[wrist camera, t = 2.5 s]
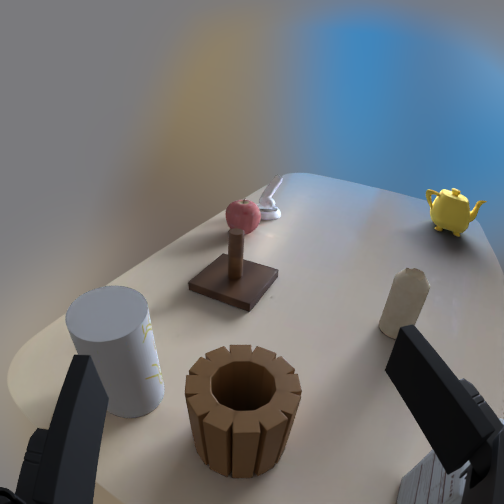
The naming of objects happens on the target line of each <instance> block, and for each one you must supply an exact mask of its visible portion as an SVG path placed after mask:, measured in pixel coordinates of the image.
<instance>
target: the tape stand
mask: <svg viewBox="0 0 504 504" xmlns="http://www.w3.org/2000/svg"><path fill="white" fill-rule="evenodd" d="M243 250H244V230H242V229H239V228H233V229H230V230H229V234H228V255H227V254H222V255H221V256H219V257H218V258H217V259H216V260H214V261H213V262H212V263H211V264H210V265H208V266H207V267H206V268H205V269H204V270H202V271H201V272H200V273H199V274H198V275H196V276H195V277H194V278H193V279H192V280H190V281H189V282H188V284H189V290H192V291H194V292H197V293H199V294H202V295H205V296H208V297H210V298H213V299H216V300H218V301H221V302H224V303H227V304H229V305H232V306H235V307H238V308H241V309H243V310H246V311H249V312H250V311H251V309H252V308H253V307H254V306H255V305H256V303H257V302H258V301H259V300H260V298H261V297H262V296H263V295H264V293H265V292H266V291H267V289H268V288H269V287H270V286H271V284H272V283H273V282H274V281H275V279H276V278H277V277H278V269H274V268H271V267H268V266H264V265H261V264H257V263H254V262H251V261H247V260H244V259H243Z"/></svg>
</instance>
